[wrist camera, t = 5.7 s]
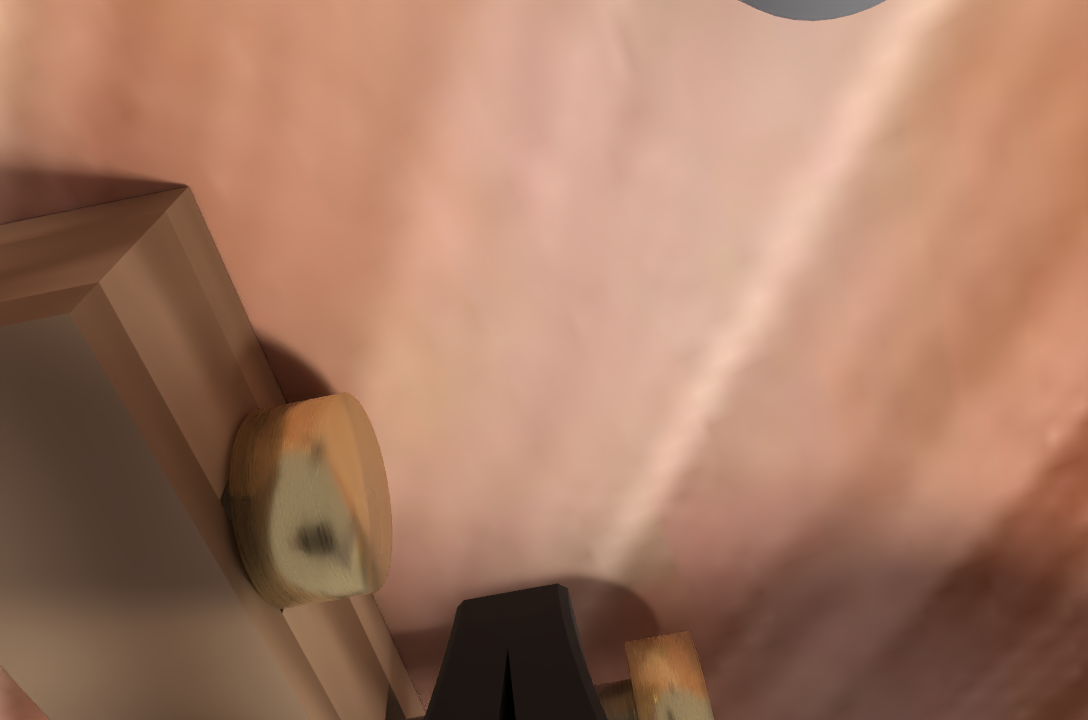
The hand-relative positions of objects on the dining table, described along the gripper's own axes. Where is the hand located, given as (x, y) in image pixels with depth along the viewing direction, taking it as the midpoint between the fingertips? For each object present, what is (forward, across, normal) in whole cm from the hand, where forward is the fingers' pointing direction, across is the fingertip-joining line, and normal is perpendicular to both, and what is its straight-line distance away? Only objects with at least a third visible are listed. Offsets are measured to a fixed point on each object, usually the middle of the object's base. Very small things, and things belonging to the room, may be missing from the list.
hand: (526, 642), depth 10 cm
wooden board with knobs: (+6, +6, +4) cm, 9 cm away
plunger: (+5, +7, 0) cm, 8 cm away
